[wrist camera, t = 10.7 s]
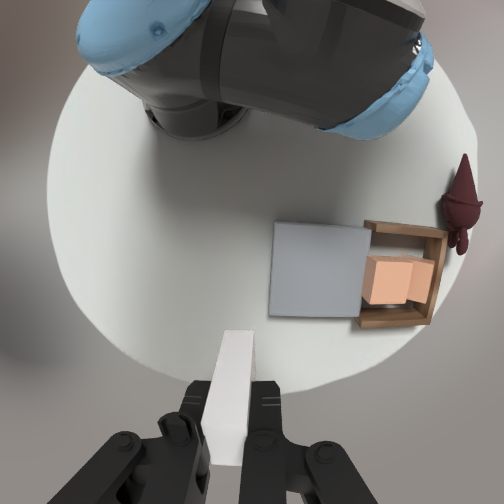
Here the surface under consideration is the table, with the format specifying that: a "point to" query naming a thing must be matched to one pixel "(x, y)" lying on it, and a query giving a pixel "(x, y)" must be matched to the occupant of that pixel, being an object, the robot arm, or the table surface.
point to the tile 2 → (420, 278)
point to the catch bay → (435, 252)
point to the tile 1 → (386, 279)
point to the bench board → (317, 269)
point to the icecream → (461, 207)
